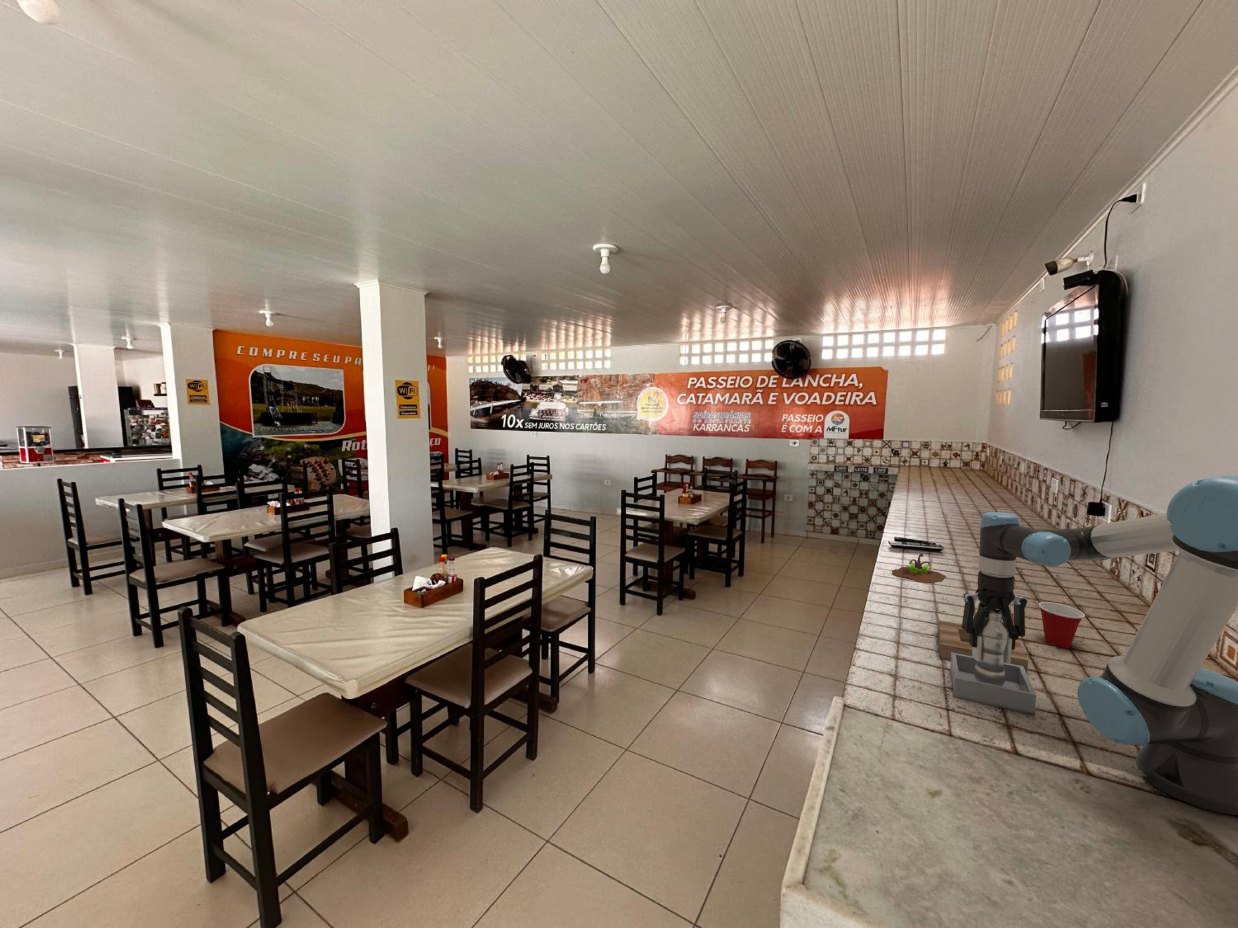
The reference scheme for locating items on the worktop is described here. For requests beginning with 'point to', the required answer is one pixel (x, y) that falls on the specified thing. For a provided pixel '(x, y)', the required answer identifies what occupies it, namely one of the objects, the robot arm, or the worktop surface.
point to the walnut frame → (958, 642)
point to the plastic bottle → (992, 650)
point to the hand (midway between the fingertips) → (991, 659)
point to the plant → (918, 572)
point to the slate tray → (993, 686)
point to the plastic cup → (1059, 623)
